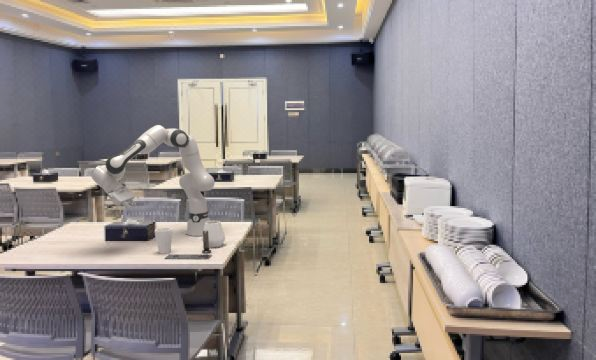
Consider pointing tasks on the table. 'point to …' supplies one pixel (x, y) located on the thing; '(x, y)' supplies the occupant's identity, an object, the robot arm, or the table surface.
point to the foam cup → (164, 240)
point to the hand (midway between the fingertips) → (132, 206)
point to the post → (206, 243)
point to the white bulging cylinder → (214, 233)
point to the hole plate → (187, 256)
